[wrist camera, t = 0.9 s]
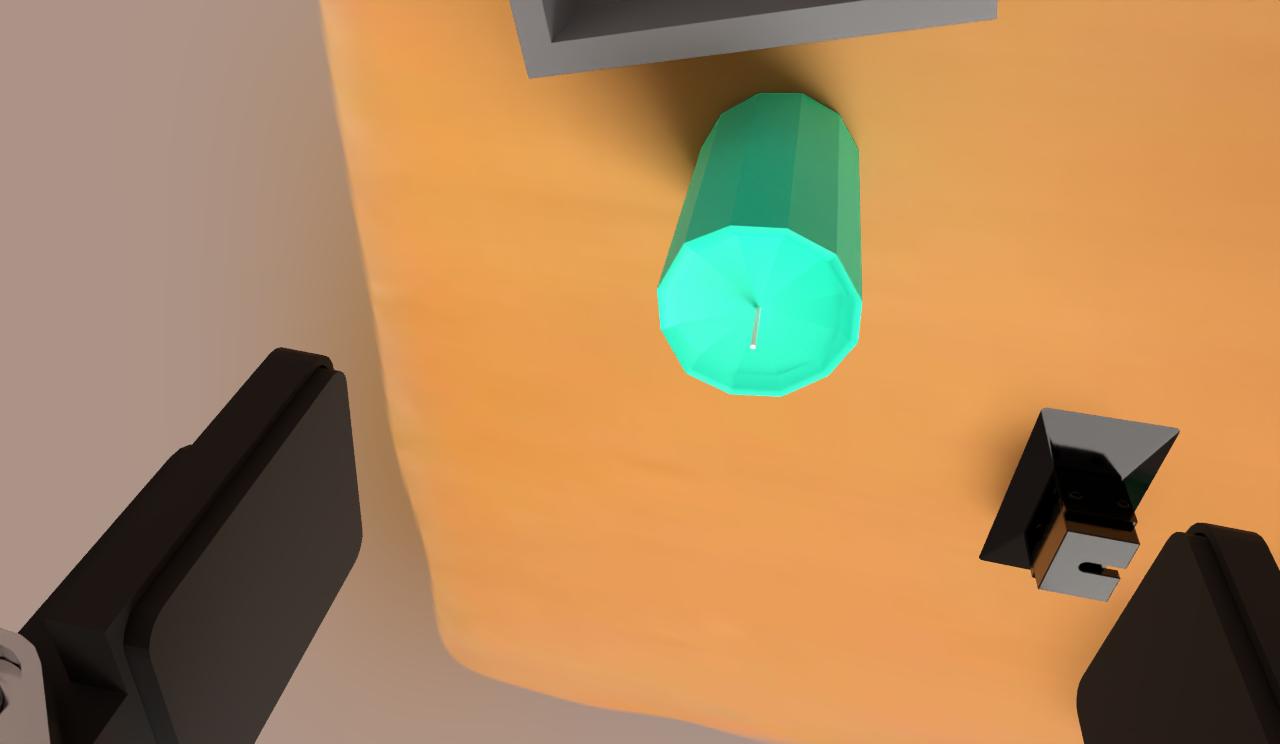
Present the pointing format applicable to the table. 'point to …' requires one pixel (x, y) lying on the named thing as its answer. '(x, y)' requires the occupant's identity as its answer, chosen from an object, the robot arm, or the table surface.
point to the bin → (708, 27)
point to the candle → (767, 250)
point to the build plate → (1077, 501)
